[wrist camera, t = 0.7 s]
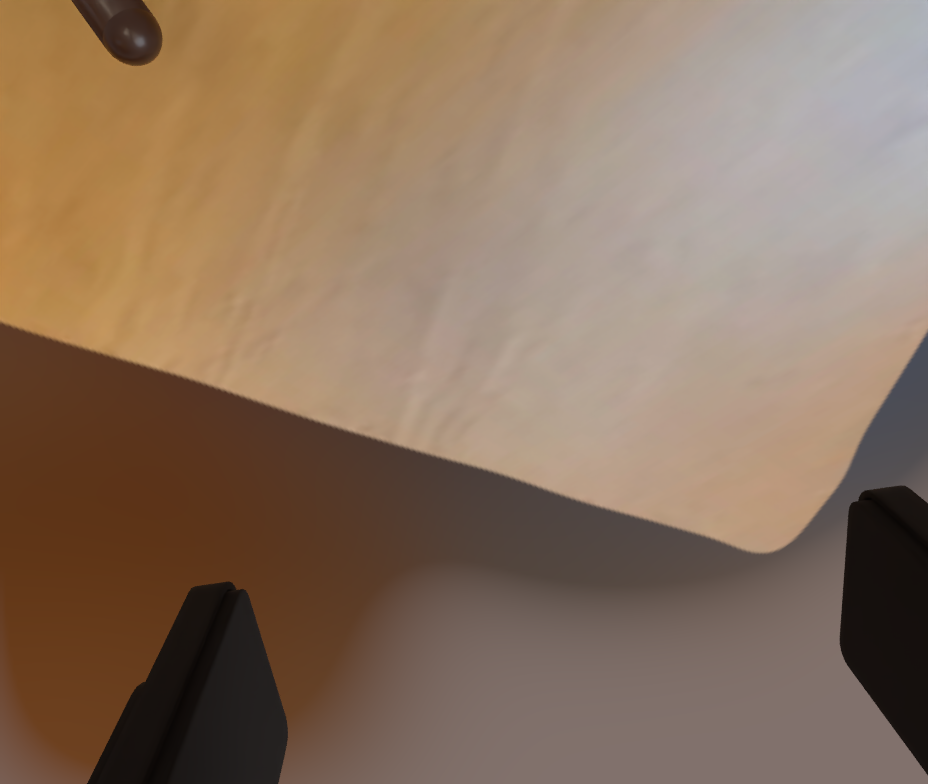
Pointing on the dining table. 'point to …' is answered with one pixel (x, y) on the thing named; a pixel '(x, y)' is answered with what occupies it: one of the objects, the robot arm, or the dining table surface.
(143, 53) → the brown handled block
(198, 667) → the robot arm
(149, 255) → the dining table surface
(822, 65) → the dining table surface
